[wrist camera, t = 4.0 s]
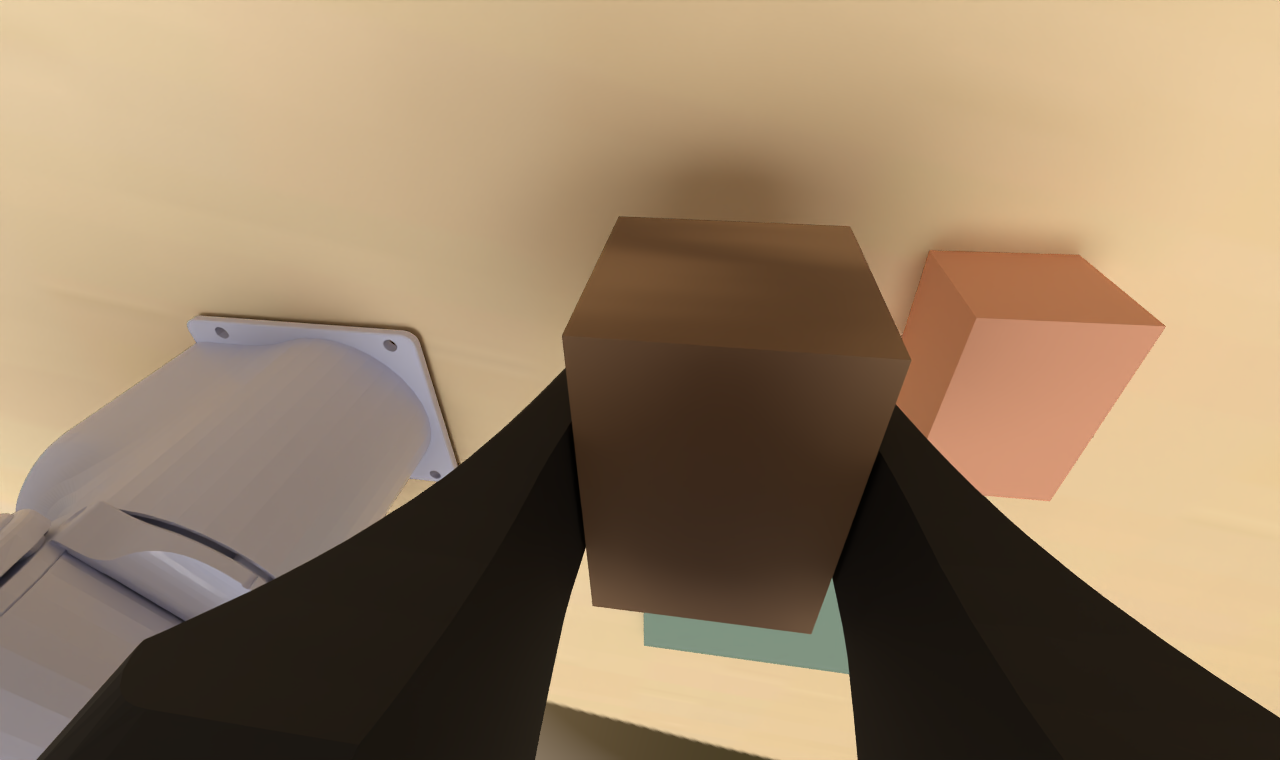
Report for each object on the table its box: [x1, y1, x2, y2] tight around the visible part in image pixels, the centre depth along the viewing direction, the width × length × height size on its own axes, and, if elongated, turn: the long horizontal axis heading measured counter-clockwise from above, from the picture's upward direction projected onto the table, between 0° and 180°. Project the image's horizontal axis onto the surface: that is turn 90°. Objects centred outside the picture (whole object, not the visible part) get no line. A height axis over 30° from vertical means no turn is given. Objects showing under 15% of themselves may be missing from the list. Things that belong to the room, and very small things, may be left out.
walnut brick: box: [562, 217, 911, 634], centre depth 10 cm, size 4×6×4 cm, turn 0°
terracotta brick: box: [896, 250, 1166, 501], centre depth 16 cm, size 4×6×4 cm, turn 2°
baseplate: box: [644, 579, 849, 674], centre depth 25 cm, size 13×17×1 cm
